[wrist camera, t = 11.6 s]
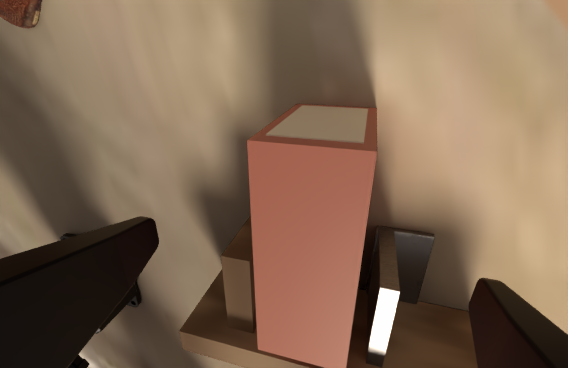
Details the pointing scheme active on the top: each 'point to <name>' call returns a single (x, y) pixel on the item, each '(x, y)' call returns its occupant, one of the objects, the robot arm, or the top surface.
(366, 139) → the block
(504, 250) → the top surface
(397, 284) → the bookend
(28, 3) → the wooden tablet
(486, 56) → the top surface
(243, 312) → the wooden display stand
